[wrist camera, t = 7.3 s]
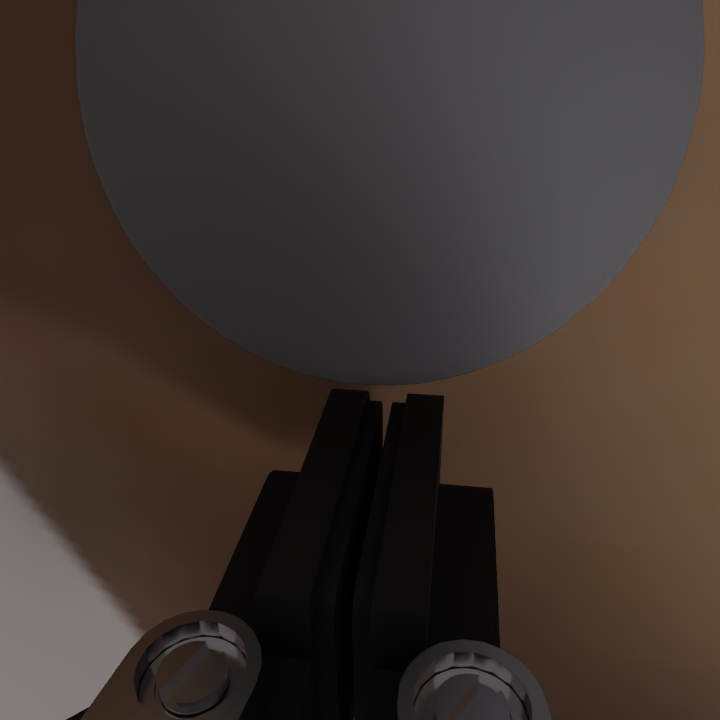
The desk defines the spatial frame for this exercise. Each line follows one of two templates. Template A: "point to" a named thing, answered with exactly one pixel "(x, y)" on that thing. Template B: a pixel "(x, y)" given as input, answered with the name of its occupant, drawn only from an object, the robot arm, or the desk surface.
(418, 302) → the grey ball
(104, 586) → the desk surface
